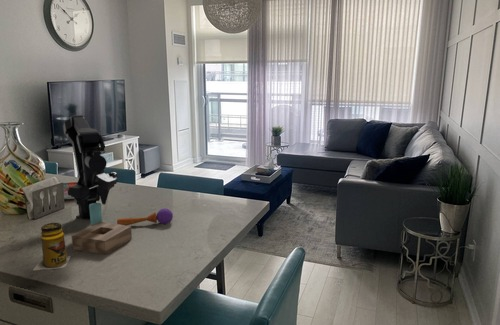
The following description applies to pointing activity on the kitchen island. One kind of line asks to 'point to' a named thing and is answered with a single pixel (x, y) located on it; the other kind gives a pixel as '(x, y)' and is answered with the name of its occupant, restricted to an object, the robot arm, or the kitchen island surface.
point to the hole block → (101, 237)
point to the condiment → (52, 247)
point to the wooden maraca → (149, 218)
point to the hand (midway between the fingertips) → (95, 208)
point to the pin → (95, 213)
